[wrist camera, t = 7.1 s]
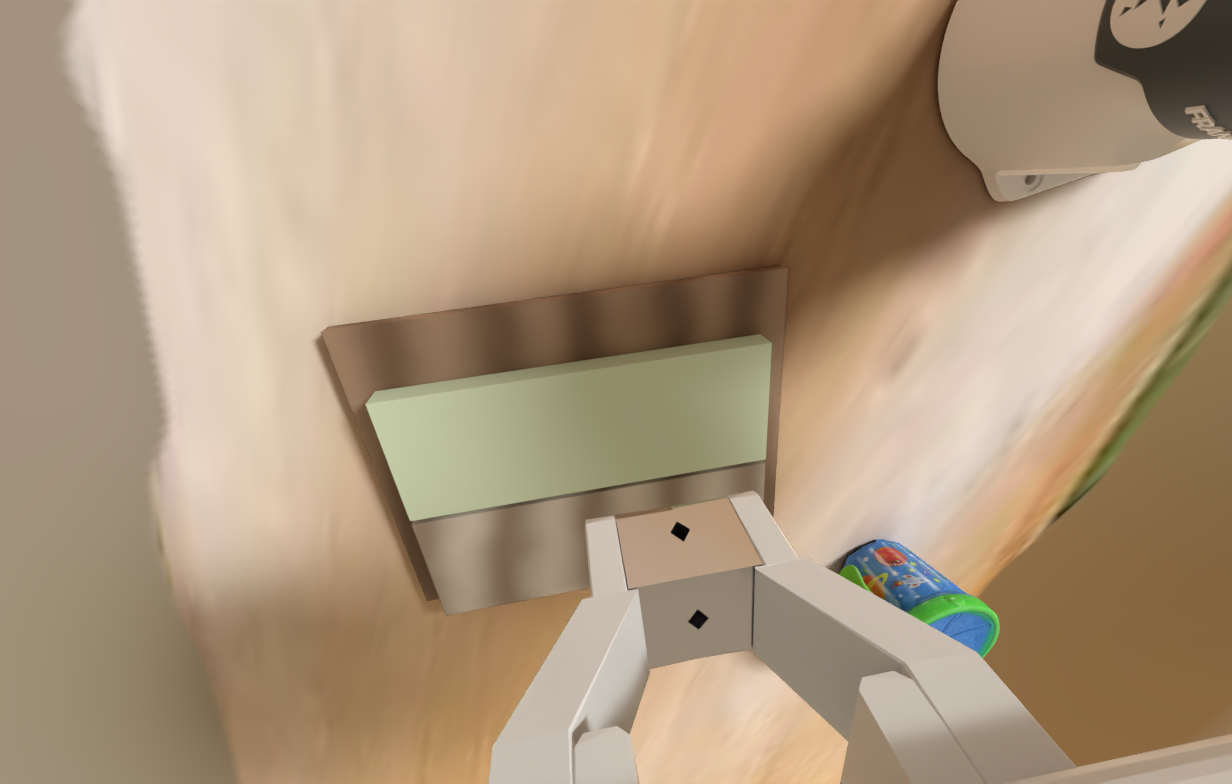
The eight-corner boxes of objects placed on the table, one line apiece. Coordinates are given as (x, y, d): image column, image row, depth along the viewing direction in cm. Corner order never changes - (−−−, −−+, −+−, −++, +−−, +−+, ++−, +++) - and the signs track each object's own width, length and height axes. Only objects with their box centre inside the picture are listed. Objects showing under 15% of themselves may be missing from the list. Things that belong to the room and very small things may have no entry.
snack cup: (948, 556, 51) (1037, 639, 42) (878, 617, 54) (947, 708, 45) (861, 499, 46) (942, 581, 37) (788, 571, 48) (846, 663, 39)
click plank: (760, 334, 35) (771, 342, 33) (755, 446, 39) (765, 459, 38) (374, 391, 32) (365, 404, 31) (416, 504, 37) (410, 521, 35)
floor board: (780, 265, 34) (802, 273, 31) (766, 526, 45) (782, 550, 42) (328, 327, 31) (307, 342, 29) (429, 590, 42) (421, 620, 39)
